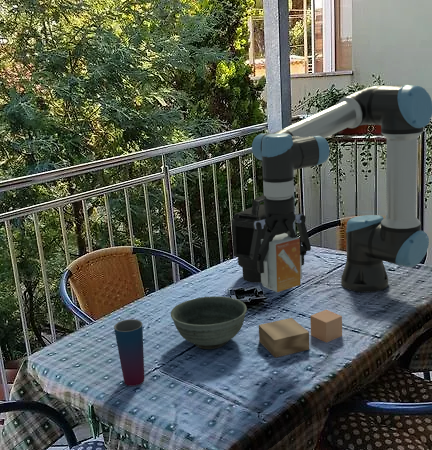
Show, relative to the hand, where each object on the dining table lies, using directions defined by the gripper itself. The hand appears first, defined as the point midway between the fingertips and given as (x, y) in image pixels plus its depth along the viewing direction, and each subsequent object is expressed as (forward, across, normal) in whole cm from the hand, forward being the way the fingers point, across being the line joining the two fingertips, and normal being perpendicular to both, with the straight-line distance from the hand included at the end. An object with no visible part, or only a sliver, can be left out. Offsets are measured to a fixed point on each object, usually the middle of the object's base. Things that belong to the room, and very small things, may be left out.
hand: (281, 280), depth 153 cm
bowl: (+19, +17, -11) cm, 28 cm away
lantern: (+19, -16, -49) cm, 55 cm away
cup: (+19, +41, 0) cm, 45 cm away
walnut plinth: (+19, 0, 0) cm, 19 cm away
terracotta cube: (+19, -13, 0) cm, 23 cm away
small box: (+2, 0, 0) cm, 2 cm away
